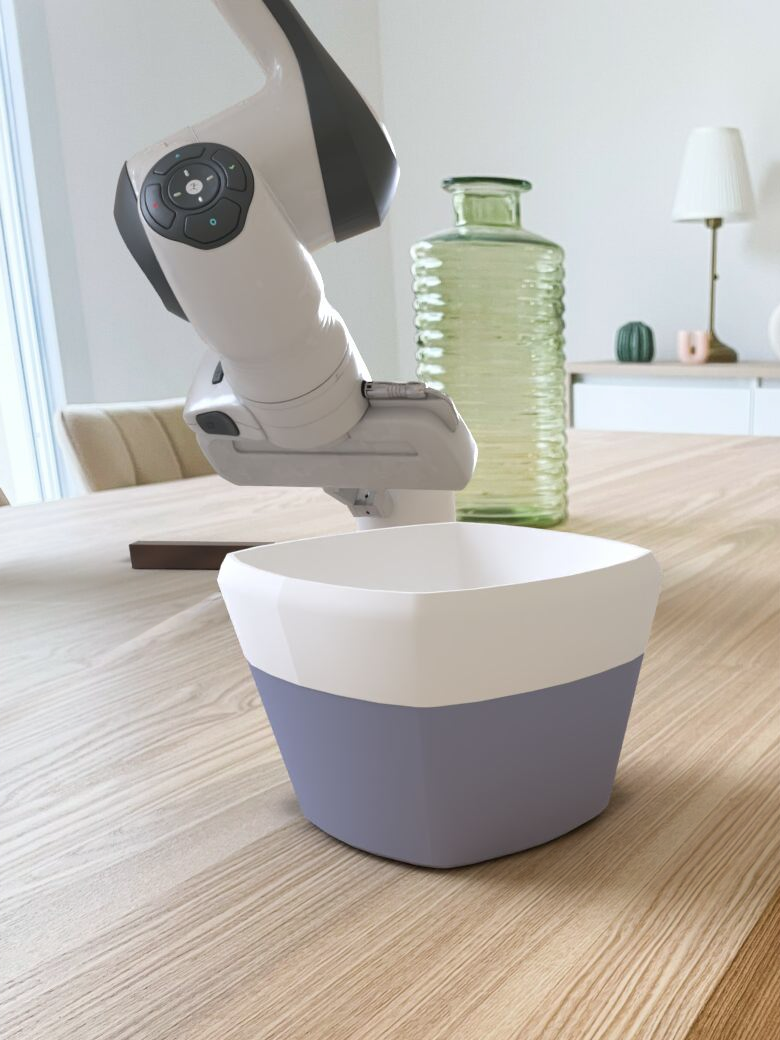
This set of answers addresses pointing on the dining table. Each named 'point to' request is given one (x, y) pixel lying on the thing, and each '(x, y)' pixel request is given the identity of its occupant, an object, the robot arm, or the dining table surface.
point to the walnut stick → (184, 553)
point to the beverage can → (414, 509)
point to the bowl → (446, 679)
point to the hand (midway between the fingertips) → (374, 510)
